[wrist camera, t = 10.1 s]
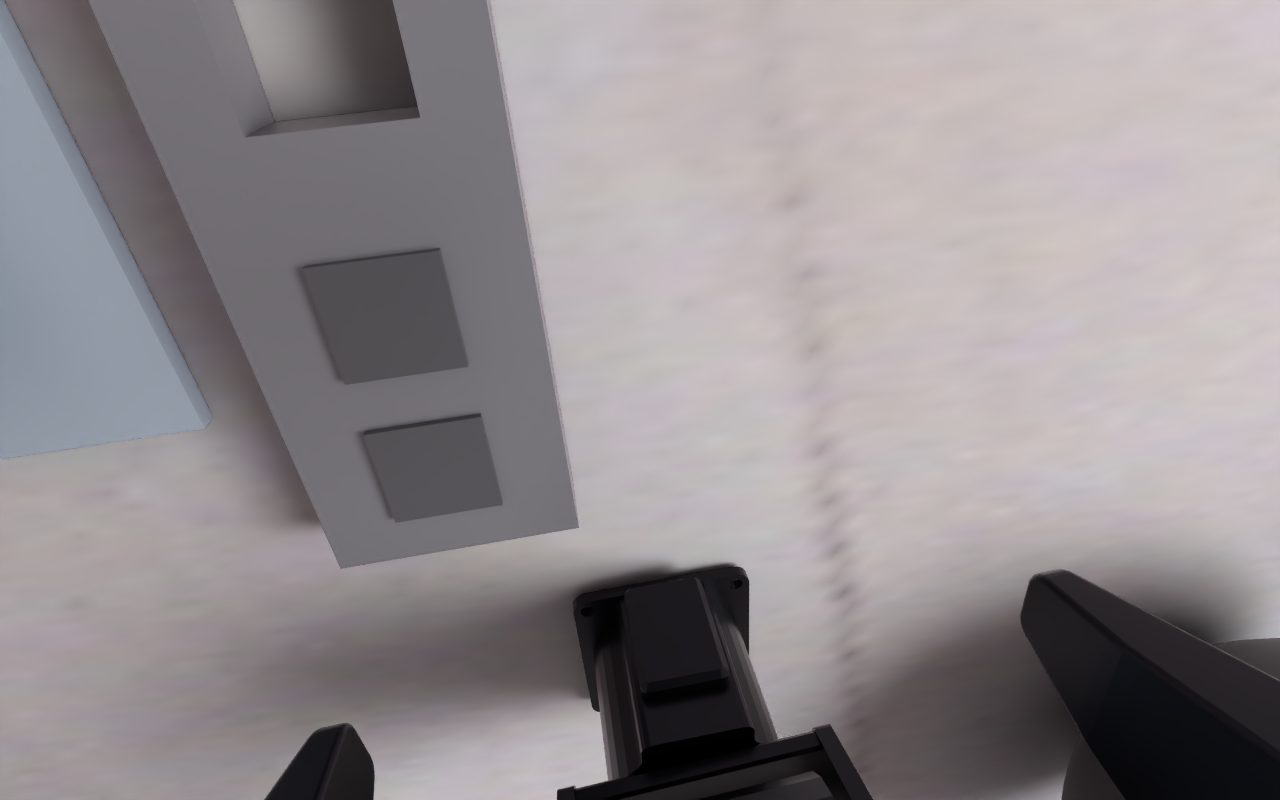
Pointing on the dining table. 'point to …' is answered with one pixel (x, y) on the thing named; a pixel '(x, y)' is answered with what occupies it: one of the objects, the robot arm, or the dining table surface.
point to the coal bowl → (1086, 781)
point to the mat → (72, 292)
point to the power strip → (369, 274)
